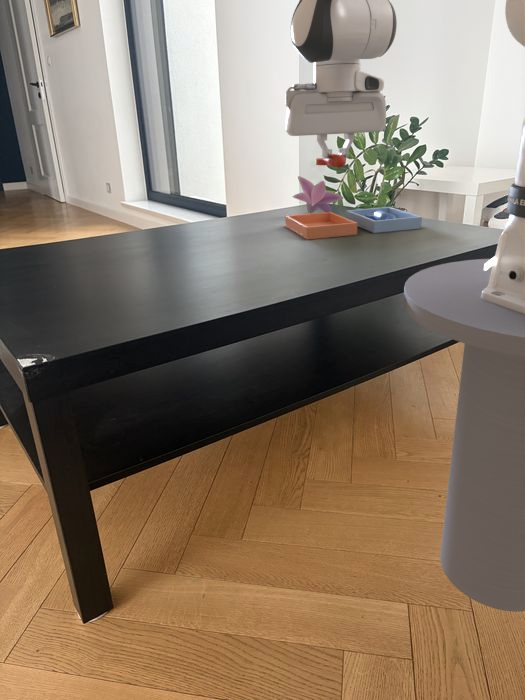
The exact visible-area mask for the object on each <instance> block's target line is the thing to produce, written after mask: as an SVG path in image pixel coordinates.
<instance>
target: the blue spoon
mask: <svg viewBox="0 0 525 700" xmlns="http://www.w3.org/2000/svg"><path fill="white" fill-rule="evenodd" d="M366 217H367V218H370V219H373V220H375V221H377V220H388V219H396V217H395V216H394V215H392V214H388V213H385V212H382V211H376V212H375V213H370V214H366Z"/></svg>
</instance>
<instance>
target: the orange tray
mask: <svg viewBox="0 0 525 700" xmlns="http://www.w3.org/2000/svg"><path fill="white" fill-rule="evenodd" d="M284 218H285V219H284V221H285V224H284V225H285V228H287V229H289V230H290V231H292V232H294V233H295V234H297V235H299V236H300V237H302V238H304V239H305V240H308V241H309V240H316V239H317V240H318V239H326V238H336V237H346V236H357V235H358V226H357V222H354V221H352V220H349V219H347V218H346V217H345V216H342V215H339V214H337V213H335V212H333V211H332V212H325V211H323V212H313V213H311V214H309V213H303V214H291V215H284Z"/></svg>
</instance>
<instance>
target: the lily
mask: <svg viewBox="0 0 525 700" xmlns="http://www.w3.org/2000/svg"><path fill="white" fill-rule="evenodd" d="M297 179H298V182H299V184H300V187H301V189H302V191H303V192H299V193H296V194H294V195H292V198H294V199H296V200H298V201H302V202H304V203H305V204H306V210H307V214H313V213H316V212H317V211H318V210H321V211H322V212H332V213H333V211H332V208H331V206H330V204H333V203H335V202H339V201H341V200H343V199H344V196H342V195H341V194H339V193H337V192H333V191H331V190H330V191H329V190H327V188H326V187H327V186H326V182H325V181H324V180H321V181H319V182H318V183H316V184H314V183H312V182H311V181H310V180H308V179H307V178H305V177H302V176H300V175H299V176H297Z"/></svg>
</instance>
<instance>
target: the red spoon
mask: <svg viewBox="0 0 525 700" xmlns="http://www.w3.org/2000/svg"><path fill="white" fill-rule="evenodd" d="M346 164H347V158H345V157H344V156H342V155H339V154H335V153H332V158H331V159H323V158H322V157H317V158H315V166H329V167H334V168H337V169H341V168H344V167H345V165H346Z"/></svg>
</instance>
